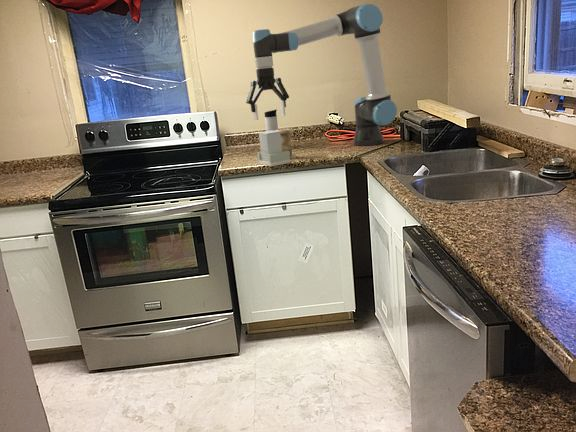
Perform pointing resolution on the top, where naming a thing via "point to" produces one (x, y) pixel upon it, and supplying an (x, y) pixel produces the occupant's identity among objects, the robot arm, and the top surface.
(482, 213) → the top surface
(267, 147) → the supplement box
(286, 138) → the spool
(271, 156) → the green and white block
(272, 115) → the travel mug
